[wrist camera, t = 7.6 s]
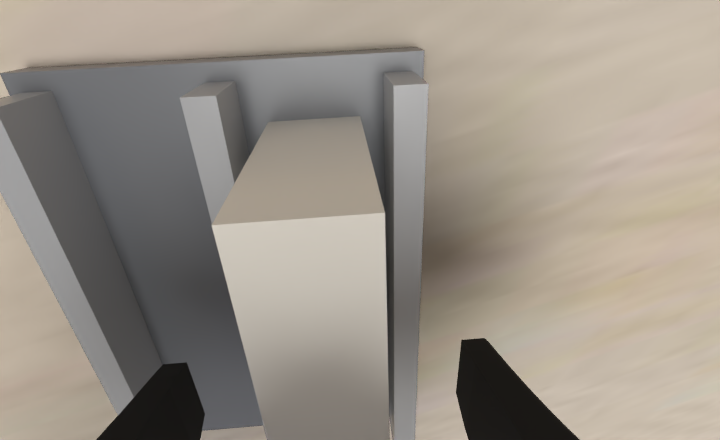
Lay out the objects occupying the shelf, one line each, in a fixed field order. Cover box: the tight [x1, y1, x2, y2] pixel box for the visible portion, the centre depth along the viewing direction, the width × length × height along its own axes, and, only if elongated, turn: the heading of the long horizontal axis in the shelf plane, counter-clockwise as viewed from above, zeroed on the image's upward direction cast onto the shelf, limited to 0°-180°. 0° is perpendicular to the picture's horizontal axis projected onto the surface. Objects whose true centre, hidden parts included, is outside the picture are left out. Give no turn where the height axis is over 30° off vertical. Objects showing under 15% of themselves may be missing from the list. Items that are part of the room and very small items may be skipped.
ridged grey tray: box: [0, 47, 429, 440], centre depth 13 cm, size 15×11×3 cm
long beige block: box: [212, 116, 390, 440], centre depth 11 cm, size 12×3×6 cm, turn 3°
